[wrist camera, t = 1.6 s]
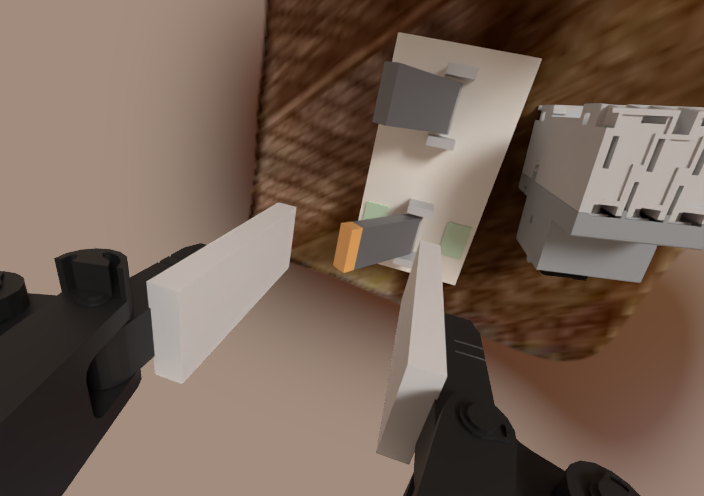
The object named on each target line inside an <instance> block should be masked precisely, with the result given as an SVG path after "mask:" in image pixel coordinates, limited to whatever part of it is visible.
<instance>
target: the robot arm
mask: <svg viewBox="0 0 704 496" xmlns="http://www.w3.org/2000/svg"><path fill="white" fill-rule="evenodd" d="M295 214H296V207H294V206H290V205H286V204H283V203H279V202H278V203H276V204H275V205H273V206H271V207H270V208H268V209H266V210H265V211H263V212H261V213H260V214H258V215H256V216H255V217H253V218H251V219H250V220H248V221H246V222H245V223H243V224H241V225H240V226H238V227H236V228H235V229H233V230H231V231H230V232H228V233H226V234H225V235H223V236H222V237H220V238H218V239H217V240H215V241H213V242H211V243H210V244H208V245H205V244H196V245H193V246H189V247H185V248H183V249H181V250H179V251H177V252H175V253H174V254H172V255H171V257H169V256H168V257H167V258H165V259H163V260H161V261H160V263H156V264H154V265H152V266H151V267H149V268H147V269H145V270H143V271H141V272H139V273H138V274H136V275H134V276H132V277H130V278H129V270H128V262H127V257H126V256H125V255H124V254H122V253H121V252H118V251H114V250H110V249H85V250H79V251H74V252H70V253H66V254H63V255H61V256H59V257H57V258H55V263H56V268H57V272H58V276H59V280H60V285H61V289H62V293H60V294H59V295H57V296H55V295H42V294H30V293H27V289H26V286H25V282H24V278H23V277H21V276H20V275H18V274H16V273H11V272H5V271H3V272H2V271H0V496H62V495H63V493H64V492H65V491H66V489H67V488H68V486H69V485H70V483H71V482H72V481H73V479H74V478H75V476H76V475H77V473H78V472H79V471H80V469H81V468H82V466H83V465H84V463H85V462H86V461H87V459H88V458H89V456H90V455H91V453H92V452H93V451H94V449H95V448H96V446H97V445H98V443H99V442H100V440H101V439H102V438H103V436H104V435H105V433H106V432H107V430H108V429H109V428H110V426H111V425H112V423H113V422H114V420H115V419H116V418H117V416H118V415H119V413H120V412H121V410H122V409H123V407H124V406H125V405H126V403H127V402H128V400H129V399H130V398H131V396H132V395H133V393H134V392H135V390H136V389H137V387H138V386H139V383H140V381H141V370H140V368H142V367H143V366H144V365H145V364H146V363H147V362H148V361H149V360H151V359H152V358H154V367H155V374H156V375H158V376H161V377H164V378H167V379H170V380H172V381H175V382H178V383H181V384H183V383H184V382H185V381H186V379H187V378H188V377H189V376H190V375H191V374H192V373H193V372H194V371H195V370H196V369H197V367H198V366H199V365H200V364H201V363H202V362H203V361H204V360H205V359H206V358H207V356H208V355H209V354H210V353H211V352H212V351H213V350H214V349H215V348H216V347H217V346H218V344H219V343H220V342H221V341H222V340H223V339H224V338H225V337H226V335H228V333H229V332H230V331H231V330H232V329H233V328H234V327H235V326H236V325H237V324H238V323H239V321H240V320H241V319H242V318H243V317H244V316H245V315H246V314H247V313H248V312H249V310H250V309H251V308H252V307H253V306H254V305H255V304H256V303H257V301H259V300H260V298H261V297H262V296H263V295H264V294H265V293H266V292H267V291H268V290H269V288H270V287H271V286H272V285H273V284H274V283H275V282H276V281H277V280H278V279H279V278H280V277H281V275H282V274H283V273H284V272H285V271H286V270H287V269H288V268H289V263H290V255H291V247H292V239H293V231H294V222H295ZM414 452H415V463H414V473H413V475H412V477H411V480H410V482H409V484H408V486H407V489H406V491H405V493H404V495H403V496H640V495H639V494H638V493H637V492H636V491H635V490H634V489H633V488H632V487H631V486H630V485H629V484H628V483H627V482H625V481H624V480H623V479H621V478H620V477H619V476H617V475H616V474H615V473H613V472H612V471H609V470H608V469H606V468H604V467H602V466H600V465H598V464H596V463H591V462H586V461H578V462H575V463H573V464H570V465H569V467H568V468H567V469H566V471H564V470H562V469H561V468H559V467H557V466H556V465H554V464H553V463H551V462H549V461H547V460H546V459H544V458H542V457H541V456H539V455H538V454H536V453H534V452H533V451H531V450H530V449H529V448H527V447H526V446H524V445H523V444H521V443H520V442H519V441H518V440H517V439H516V435H515V430H514V429H513V427H512V425H511V424H510V422H509V420H508V418H507V417H506V416H505V415H504V414H503V413H502V412H501V411H500V410H499V409H498V408H497V407H496V406H495V404H494V400H493V395H492V390H491V385H490V381H489V376H488V371H487V366H486V362H485V356H484V351H483V350H482V342H481V337H480V333H479V332H478V331H477V329H476V328H475V326H474V325H473V324H472V322H471V321H470V320H467V319H463V318H460V317H456V316H453V315H450V314H446V313H444V304H443V284H442V265H441V246H440V245H437V244H434V243H430V242H426V241H422V240H420V242H419V246H418V249H417V252H416V255H415V259H414V262H413V265H412V268H411V271H410V275H409V278H408V281H407V284H406V288H405V291H404V294H403V297H402V301H401V307H400V313H399V319H398V325H397V331H396V337H395V343H394V349H393V355H392V361H391V368H390V373H389V379H388V385H387V391H386V397H385V403H384V409H383V415H382V421H381V428H380V434H379V439H378V445H377V451H376V453H378V454H381V455H383V456H386V457H389V458H392V459H395V460H398V461H400V462H403V463H406V464H409V463H410V461H411V459H412V457H413V454H414Z"/></svg>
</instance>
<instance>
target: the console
mask: <svg viewBox="0 0 704 496" xmlns="http://www.w3.org/2000/svg"><path fill="white" fill-rule="evenodd" d="M541 60H542V58H536V57H531V56H526V55H520V54H515V53H509V52H504V51H498V50H493V49H488V48H482V47H477V46H471V45H466V44H461V43H455V42H450V41H444V40H439V39H433V38H428V37H423V36H417V35H412V34H406V33H401V32H398V36H397V40H396V45H395V50H394V55H393V59H392V62H398V63H402V64H405V65H408V66H411V67H414V68H417V69H420V70H423V71H426V72H429V73H432V74H435V75H438V76H441V77H444V78H447V79H450V80H452V81H457V82H461V83H464V84H463V87H462V91H461V94H460V97H459V100H458V104H457V107H456V110H455V114H454V117H453V120H452V123H451V127H450V130H449V133H448V135H445V134H441V133H437V132H429V131H421V130H414V129H406V128H398V127H391V126H385V125H381V124H379V125H378V130H377V134H376V139H375V144H374V148H373V153H372V158H371V163H370V167H369V172H368V177H367V181H366V186H365V191H364V195H363V200H362V205H361V209H360V214H359V219H358V221H359V220H365V219H372V218H379V217H386V216H393V215H399V214H406V213H409V214H413V215H417V216H421V217H423V219H422V222H421V226H420V229H419V232H418V236H417V239H416V242H415V246H414V249H413V252H412V253H410V254H409V255H405V256H402V257H398V258H394V259H391V260H387V261H384V262H380V263H377V264H380V265H384V266H388V267H391V268H395V269H398V270H402V271H406V272H409V273H410V271H411V268H412V265H413V262H414V259H415V255H416V252H417V249H418V246H419V242H420V240H422V241H426V242H430V243H434V244H437V245H440V246H441V265H442V282H445V283H448V284H452V285H455V284H456V281H457V279H458V276H459V274H460V271H461V268H462V266H463V263H464V261H465V258H466V255H467V253H468V250H469V248H470V245H471V242H472V240H473V237H474V235H475V232H476V229H477V227H478V224H479V222H480V219H481V216H482V214H483V211H484V209H485V206H486V203H487V201H488V198H489V196H490V193H491V190H492V188H493V185H494V183H495V180H496V177H497V175H498V172H499V170H500V167H501V164H502V162H503V159H504V157H505V154H506V151H507V149H508V146H509V144H510V141H511V138H512V136H513V133H514V131H515V128H516V125H517V123H518V120H519V118H520V115H521V112H522V110H523V107H524V105H525V102H526V99H527V97H528V94H529V92H530V89H531V86H532V84H533V81H534V79H535V76H536V73H537V71H538V68H539V66H540V63H541Z"/></svg>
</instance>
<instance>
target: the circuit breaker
mask: <svg viewBox="0 0 704 496" xmlns="http://www.w3.org/2000/svg"><path fill="white" fill-rule="evenodd" d="M538 110H542V112H541V115H540V119H539V120H535V122H534V126H533V130H532V134H531V138H530V142H529V146H528V150H527V154H526V158H525V162H524V166H523V170H522V174H521V178H520V182H519V186H518V188H519V189H520V190H521V191H522V192H525V193H524V194H525V195H526V196H527V198H526V202H525V206H524V209H523V213H522V217H521V221H520V225H519V228H518V232H517V236H516V239H517V240H518V242H519V243H520V245H521V247H522V248H523V250H524V251H525V253H526V254H527V261H528V262H529V263H532V264H533V265H534V267H535V268H536V269H537V270H540V272H541V273H542V274H544V275H548V276H558V277H567V278H573V279H577V280H585V281H586V280H587V277H588V276H590V277H598V278H605V279H613V280H621V281H628V282H636V283H640V282H641V280H642V278H643V276H644V274H645V272H646V270H647V267H648V265H649V263H650V261H651V259H652V257H653V254H654V252H655V250H656V248H657V246H658V245H659V246H668V247H677V248H686V249H696V250H702V249H703V248H704V108H702V107H677V106H653V105H628V104H627V105H612V104H601V103H593V104H584V106H568V105H543V106H542V105H539V107H538Z"/></svg>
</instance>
